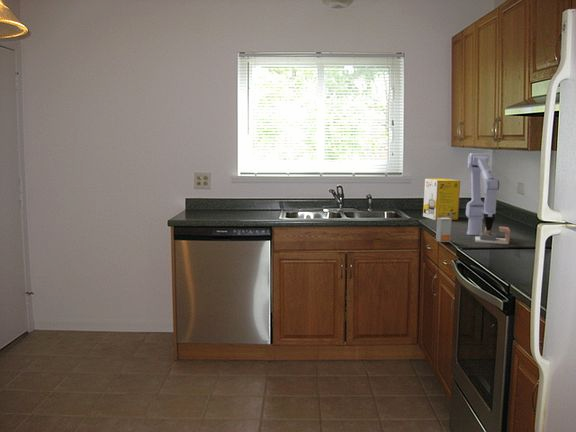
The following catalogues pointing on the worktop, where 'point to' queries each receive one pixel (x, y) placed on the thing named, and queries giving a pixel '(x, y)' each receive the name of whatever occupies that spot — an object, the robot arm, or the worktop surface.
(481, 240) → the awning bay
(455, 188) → the packaging box
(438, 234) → the skincare box
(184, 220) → the worktop surface
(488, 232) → the peg
